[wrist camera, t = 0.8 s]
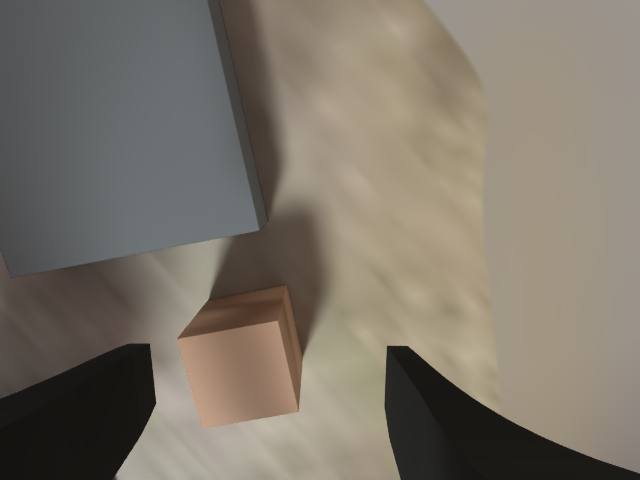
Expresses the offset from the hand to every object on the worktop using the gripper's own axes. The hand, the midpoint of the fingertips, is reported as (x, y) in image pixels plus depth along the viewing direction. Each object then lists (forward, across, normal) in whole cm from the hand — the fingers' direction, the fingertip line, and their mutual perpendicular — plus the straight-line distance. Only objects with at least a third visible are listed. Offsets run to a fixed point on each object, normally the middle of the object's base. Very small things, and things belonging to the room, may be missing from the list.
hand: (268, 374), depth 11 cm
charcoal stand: (+10, +8, -8) cm, 15 cm away
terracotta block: (+10, +2, +3) cm, 11 cm away
